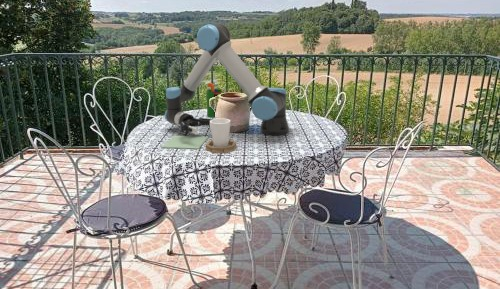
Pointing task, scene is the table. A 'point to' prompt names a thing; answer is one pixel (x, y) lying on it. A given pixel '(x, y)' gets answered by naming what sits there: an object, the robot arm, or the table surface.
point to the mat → (185, 142)
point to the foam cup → (220, 132)
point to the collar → (220, 149)
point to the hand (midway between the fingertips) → (208, 128)
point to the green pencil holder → (210, 94)
